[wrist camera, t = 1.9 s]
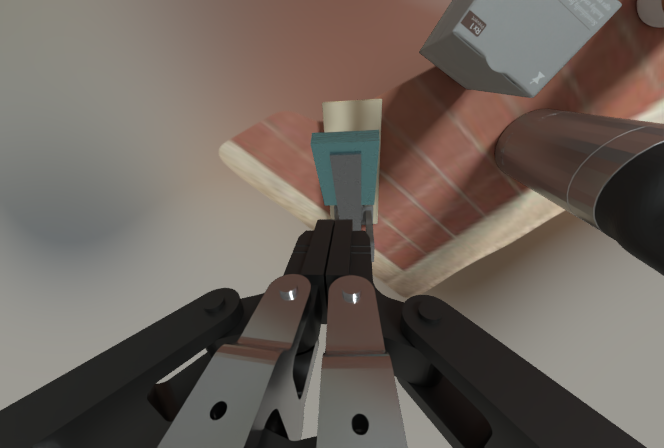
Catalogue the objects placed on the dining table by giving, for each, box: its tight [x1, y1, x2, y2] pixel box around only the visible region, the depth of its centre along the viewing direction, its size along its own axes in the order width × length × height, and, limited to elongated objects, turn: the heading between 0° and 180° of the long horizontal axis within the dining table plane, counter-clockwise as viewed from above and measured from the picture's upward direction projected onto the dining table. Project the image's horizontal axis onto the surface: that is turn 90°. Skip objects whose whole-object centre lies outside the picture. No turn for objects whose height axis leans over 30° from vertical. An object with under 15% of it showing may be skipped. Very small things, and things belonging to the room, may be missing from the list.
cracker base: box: [322, 99, 382, 262], centre depth 32 cm, size 8×19×13 cm, turn 4°
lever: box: [311, 130, 380, 231], centre depth 26 cm, size 5×17×11 cm, turn 4°
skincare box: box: [419, 0, 622, 98], centre depth 22 cm, size 8×7×16 cm
